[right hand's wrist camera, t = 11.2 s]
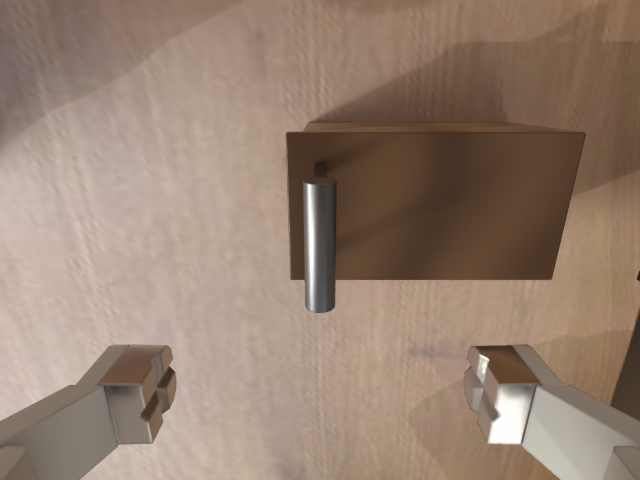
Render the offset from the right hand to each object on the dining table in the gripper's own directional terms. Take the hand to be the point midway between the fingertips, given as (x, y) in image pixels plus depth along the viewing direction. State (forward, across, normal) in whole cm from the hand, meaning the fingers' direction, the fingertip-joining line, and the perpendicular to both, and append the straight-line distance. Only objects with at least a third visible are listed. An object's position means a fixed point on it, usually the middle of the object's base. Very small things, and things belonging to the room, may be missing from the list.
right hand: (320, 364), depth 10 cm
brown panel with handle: (+16, +7, 0) cm, 17 cm away
